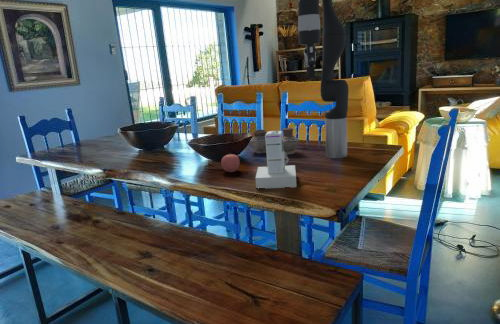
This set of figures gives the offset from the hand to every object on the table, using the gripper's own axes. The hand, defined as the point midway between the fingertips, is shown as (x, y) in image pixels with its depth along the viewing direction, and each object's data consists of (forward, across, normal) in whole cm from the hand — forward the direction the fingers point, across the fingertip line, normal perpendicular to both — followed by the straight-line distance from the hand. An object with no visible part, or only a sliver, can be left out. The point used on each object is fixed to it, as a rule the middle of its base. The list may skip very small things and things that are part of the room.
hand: (310, 77), depth 131 cm
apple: (+36, -9, -33) cm, 50 cm away
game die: (+36, -10, -13) cm, 40 cm away
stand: (+36, +7, -14) cm, 39 cm away
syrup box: (+32, +7, -14) cm, 36 cm away
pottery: (+36, -39, -16) cm, 56 cm away
